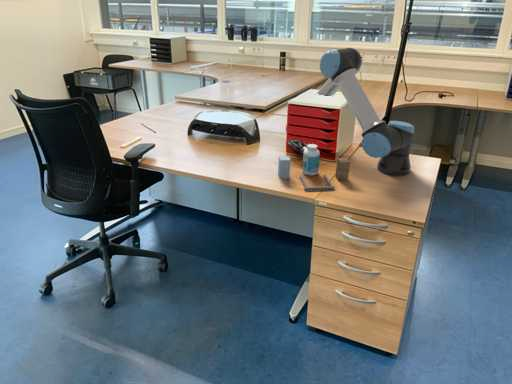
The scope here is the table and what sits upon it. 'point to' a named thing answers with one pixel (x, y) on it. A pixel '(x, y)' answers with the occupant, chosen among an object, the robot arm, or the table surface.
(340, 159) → the walnut block
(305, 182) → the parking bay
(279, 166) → the slate-blue block
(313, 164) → the pill bottle
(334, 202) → the table surface
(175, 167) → the table surface
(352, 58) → the robot arm
